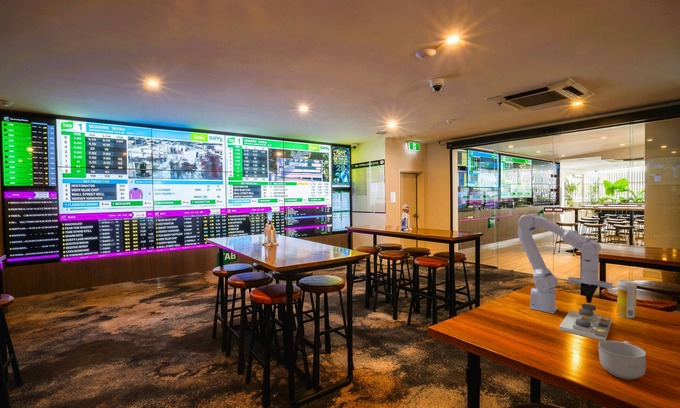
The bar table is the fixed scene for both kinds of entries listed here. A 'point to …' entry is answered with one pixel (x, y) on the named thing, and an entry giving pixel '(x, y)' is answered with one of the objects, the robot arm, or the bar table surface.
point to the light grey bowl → (622, 359)
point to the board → (595, 331)
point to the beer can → (626, 299)
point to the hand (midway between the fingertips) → (589, 302)
